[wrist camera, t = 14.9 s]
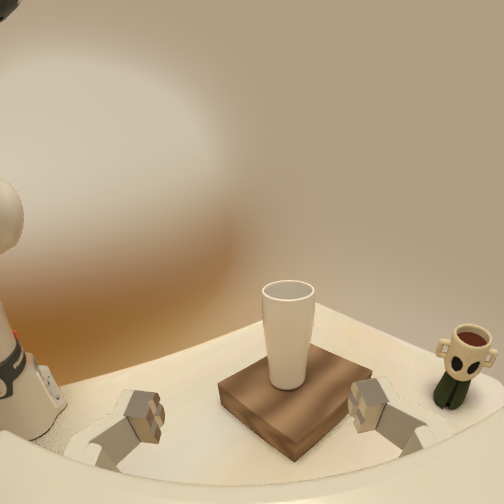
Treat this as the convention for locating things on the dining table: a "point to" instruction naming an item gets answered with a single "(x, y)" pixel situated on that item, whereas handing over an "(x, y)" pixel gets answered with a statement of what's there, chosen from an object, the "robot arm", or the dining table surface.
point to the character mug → (462, 362)
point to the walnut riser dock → (293, 401)
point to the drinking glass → (288, 330)
